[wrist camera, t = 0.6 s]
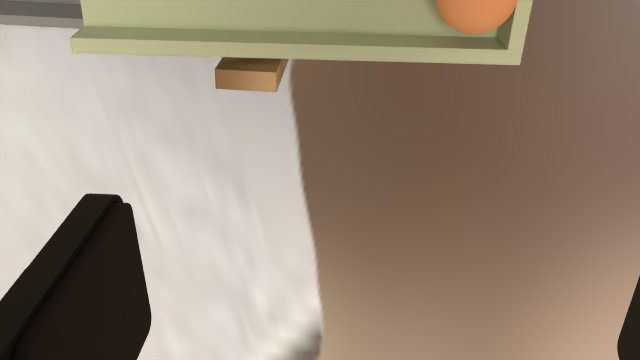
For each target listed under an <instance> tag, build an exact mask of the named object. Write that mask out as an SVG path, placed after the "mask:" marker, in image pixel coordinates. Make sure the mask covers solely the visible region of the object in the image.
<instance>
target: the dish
mask: <svg viewBox="0 0 640 360" xmlns="http://www.w3.org/2000/svg"><path fill="white" fill-rule="evenodd" d="M0 24H5V25H24V26H42V27H61V28H80V29H81V28H82V27H84V22H83V15H82V9H81V3H80V0H0Z"/></svg>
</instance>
